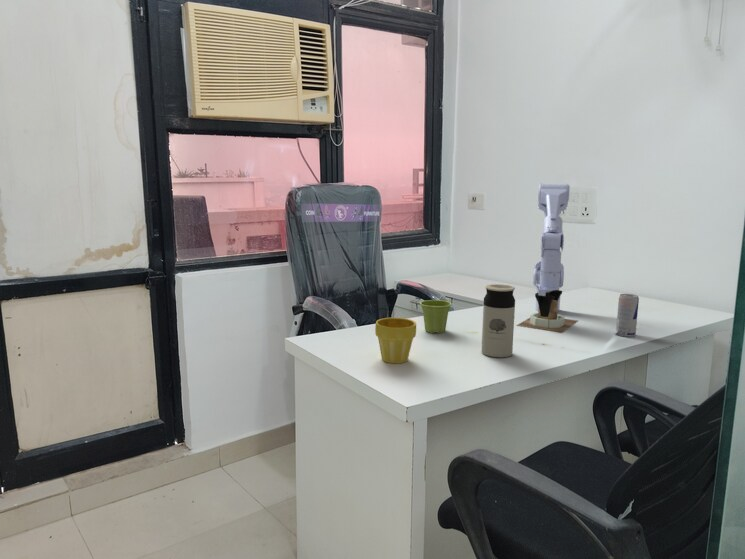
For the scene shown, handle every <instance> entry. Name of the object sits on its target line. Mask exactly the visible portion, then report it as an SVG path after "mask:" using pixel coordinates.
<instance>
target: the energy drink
mask: <svg viewBox="0 0 745 559" xmlns="http://www.w3.org/2000/svg"><path fill="white" fill-rule="evenodd" d="M639 300H640V299H639V295H636V294H633V293H620V294H619V296H618V305H617V306H618V307H617V315H616V316H617V317H616V326H615V332H616V333H615V334H616V335H617V336H620V337H623V336H624V337H623V338H634V337H635V336H636V333H637V324H638V323H637V322H638V312H639Z"/></svg>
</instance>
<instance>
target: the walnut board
mask: <svg viewBox="0 0 745 559" xmlns="http://www.w3.org/2000/svg"><path fill="white" fill-rule="evenodd" d="M578 322H579V320H577V319H569V318H565V319H564V325H563V326H562V327H560V328H545V327H539V326H535V325H533V324H531V323H530V317H529V318H528V317H527V319H525V320H523V321H521V322H520V323H518V324H516V325H515V326H516V327H521V328H522V327H523V328H528V329H534V330H540V331H545V332H551V333H552V332H553V333H559V334H563V333H564V332H565V331H566V330H568V329H569V328H571V327H572V326H574V325H575V324H576V323H578Z"/></svg>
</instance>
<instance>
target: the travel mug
mask: <svg viewBox="0 0 745 559" xmlns="http://www.w3.org/2000/svg"><path fill="white" fill-rule="evenodd" d="M484 288H485V289H486V294H485V296H484V297H483V306H482V307H483V311H482V332H481V353H482V354H484V355H485V356H488V357H491V358H496V357H499V358H502V357H503V358H507V357H511V356H512V354H513V349H514V346H513V345H514V333H515V332H514V328H515V312H516V311H515V309H516V299H515V296H514V291H515V289H516V288H515V286H512V285H509V284H503V283H501V284H500V283H497V284H496V283H495V284H493V283H492V284H486V285H485V287H484Z"/></svg>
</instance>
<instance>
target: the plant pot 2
mask: <svg viewBox="0 0 745 559" xmlns="http://www.w3.org/2000/svg"><path fill="white" fill-rule="evenodd" d="M419 304H420V306H421V309H422V315H423V322H424V325H423V326H424V330H425V332H427V333H431V334H434V333H438V334H442V333H445V332H446V329H447V321H448V316H449V312H450V307H451V306H452V303H451V302H450V301H448V300H440V299H429V300H422V301H420V302H419Z"/></svg>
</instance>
